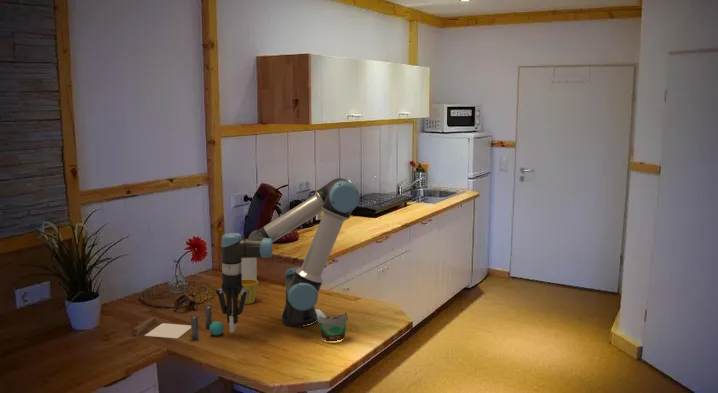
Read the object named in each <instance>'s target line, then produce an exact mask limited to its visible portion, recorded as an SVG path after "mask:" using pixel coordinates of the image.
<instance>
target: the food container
mask: <svg viewBox="0 0 718 393" xmlns="http://www.w3.org/2000/svg"><path fill="white" fill-rule="evenodd" d="M348 321H349V317H348V314H347V312H346V311H345V313H344V314H340V315H339V314H338V315H336V314H334V315H330V316H326V317H322V316H321V315H320V316H318V317H317V323H319V329H320V338H322V339H323V340H326V341H337V340H341V339H343V338H344V337H345V336H346V328H347V326H346V325H347V322H348ZM344 339H345V338H344Z"/></svg>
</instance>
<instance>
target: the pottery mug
mask: <svg viewBox="0 0 718 393" xmlns="http://www.w3.org/2000/svg"><path fill="white" fill-rule="evenodd" d="M173 305H174V309H175V310H178V309H180V308H182V309H184V305H189V306H193V309H194V311H195V312H197V310H198V308H199V307H198V304H197V301H196V298H195V295H194V294H193V293H183V294H181V295H179V296H178V297H177V298H176V299H175V301H174V302H173Z"/></svg>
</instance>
